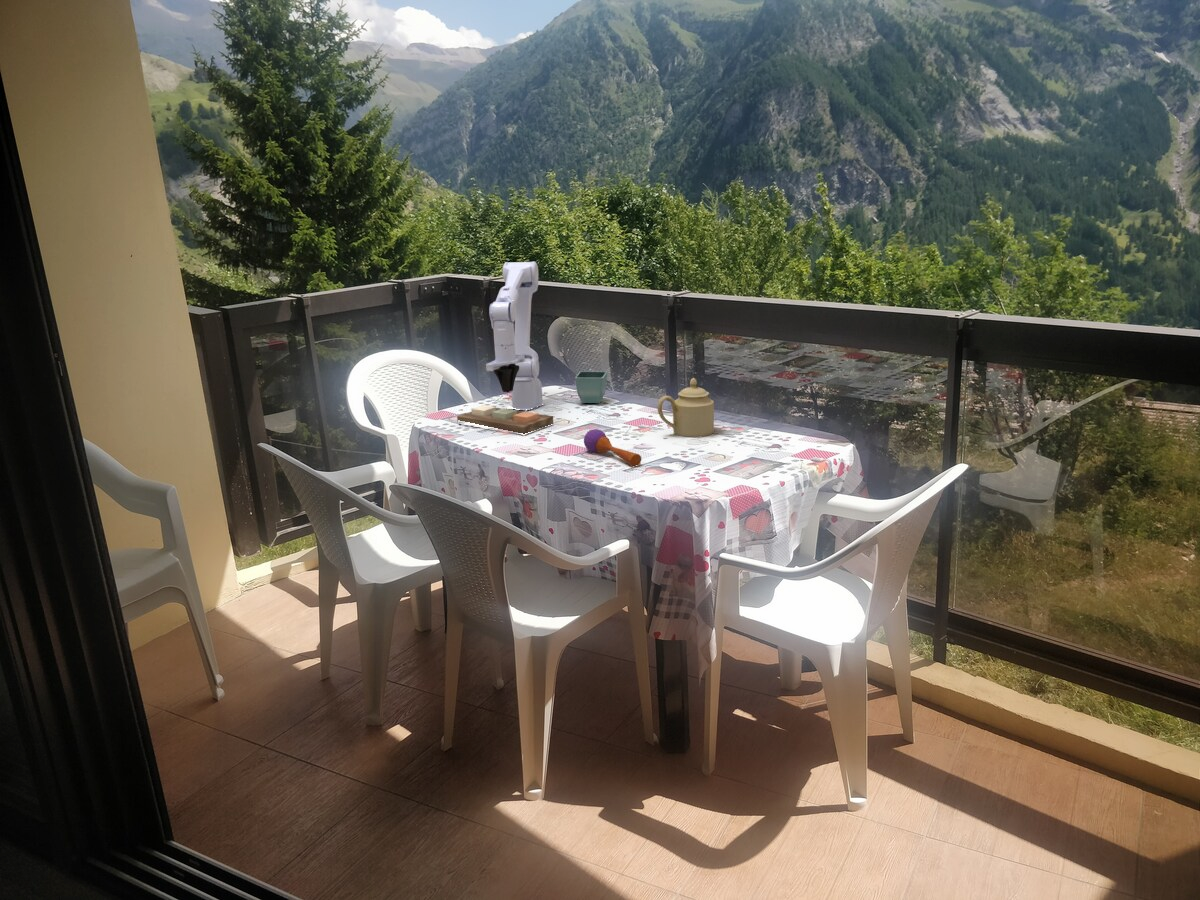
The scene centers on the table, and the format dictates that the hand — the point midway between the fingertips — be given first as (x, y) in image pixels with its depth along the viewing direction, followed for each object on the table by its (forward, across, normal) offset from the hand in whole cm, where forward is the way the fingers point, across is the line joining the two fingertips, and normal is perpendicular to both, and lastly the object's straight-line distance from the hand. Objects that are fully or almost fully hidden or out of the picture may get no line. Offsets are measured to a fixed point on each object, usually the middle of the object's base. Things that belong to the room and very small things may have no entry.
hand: (507, 391), depth 272 cm
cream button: (+8, -2, +8) cm, 11 cm away
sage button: (+8, -2, 0) cm, 8 cm away
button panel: (+9, -2, 0) cm, 10 cm away
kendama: (+10, -13, -45) cm, 48 cm away
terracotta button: (+8, -2, -8) cm, 11 cm away
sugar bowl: (+10, +15, -51) cm, 54 cm away
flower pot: (+10, +31, -7) cm, 33 cm away
